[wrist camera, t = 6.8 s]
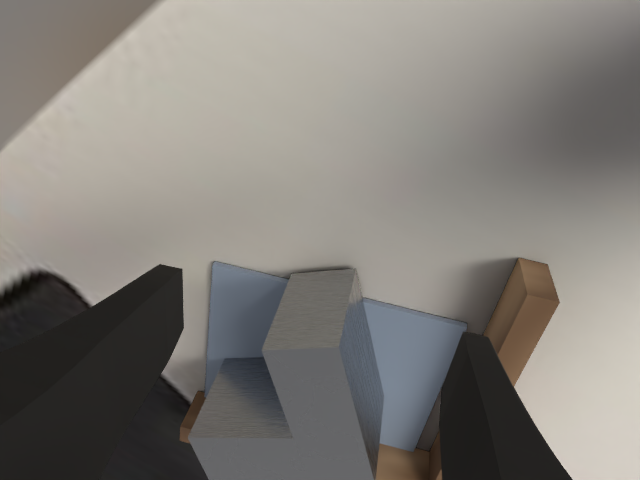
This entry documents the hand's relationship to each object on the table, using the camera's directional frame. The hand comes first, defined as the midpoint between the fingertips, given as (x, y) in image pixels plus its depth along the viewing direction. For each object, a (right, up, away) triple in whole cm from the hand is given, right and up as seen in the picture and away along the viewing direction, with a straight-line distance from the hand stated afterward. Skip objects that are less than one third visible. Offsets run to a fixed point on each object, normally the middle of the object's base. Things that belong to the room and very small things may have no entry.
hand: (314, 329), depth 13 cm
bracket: (-1, -3, +13) cm, 13 cm away
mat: (0, -4, +14) cm, 14 cm away
